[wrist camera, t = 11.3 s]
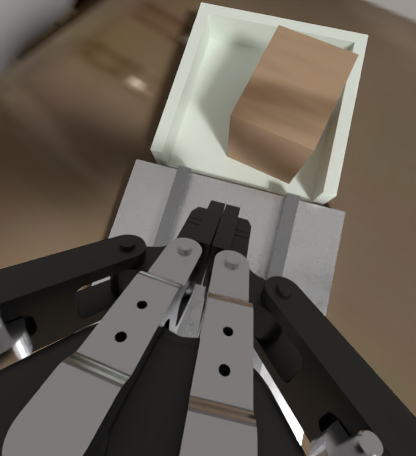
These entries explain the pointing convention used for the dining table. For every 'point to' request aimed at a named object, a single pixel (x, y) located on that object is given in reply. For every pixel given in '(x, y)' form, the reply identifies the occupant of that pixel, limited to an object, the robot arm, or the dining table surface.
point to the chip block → (287, 103)
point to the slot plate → (258, 243)
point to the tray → (229, 95)
